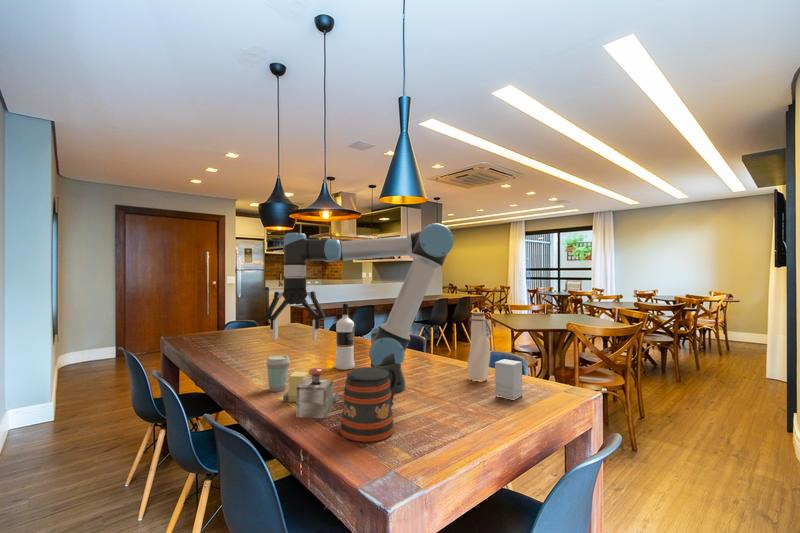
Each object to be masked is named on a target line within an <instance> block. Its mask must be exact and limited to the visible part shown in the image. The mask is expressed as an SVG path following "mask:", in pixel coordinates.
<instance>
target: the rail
mask: <svg viewBox="0 0 800 533" xmlns="http://www.w3.org/2000/svg"><path fill="white" fill-rule="evenodd" d="M339 399H340V392H336V393H333V404H337V403H338V401H339ZM282 402H283V403H286V402H290V401H289V390H288V391H287V392H285V394H284V395H283V396H282Z"/></svg>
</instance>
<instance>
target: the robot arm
mask: <svg viewBox="0 0 800 533" xmlns="http://www.w3.org/2000/svg"><path fill="white" fill-rule="evenodd" d="M453 245H454V235H453V233H452V231H451V229H450V228H449V227H448V226H447V225H445V224H442V223H437V222H435V223H430V224H428V225H426V226H424V227H423V228H422V230H420V231H417V232H410V233H409V232H408V234H406V235H404V236H391V237H381V238H380V237H378V238H366V239H353V240H342V241H341V240H339V239H338V238H337V239H336V238H322V239H321V238H317V239H316V238H315V239H314V238H313V239H312V238H308V237H307V235H306V234H305V233H300V232H287V233H285V234H284V238H283V277H285V278H284V279H283V291H282V292H281V291H274V293H273V299H272V301H271V303H270V305H269V306H268V309H267V311H266V313H265V315H264V318H265V319H268V320H269V322H270V323H269V325H270V330H272V340H277V339H278V338H279V331H278V330H279V320H278V319H277V317H278V316H279V315H280V314H281V313H282V312H283V310H284V309H285V308H286V307H287V306H288V305H290V306H291V305H302V306H303V307H304V308H305V309H306V311H308V313H309V314H310V315H311V317H312V318H313V319H312V340H316V339H317V330H319V329H320V320H321V319H323V318H325V315H326V314H325V313H324V311H323V308H322V306H321V304H320V303H319V301H318V299H317V296H316V291H314V290H313V291H309V292H307V279H306V277H307V261H318V262H319V261H323V262H326V263H334V262H342V261H343V262H344V261H353V260H357V261H358V260H366V259H367V260H368V259H380V258H381V259H382V258H391V257H404V256H406V257H409V258H410V259H412V263H411V264H410V266H409V270H408V271H407V273H406V276H405V279H404V281H403V283H402V285H401V287H400V290H399V292H398V295H397V297H396V298H395V301H394V303H393V306H392V308H391V310H390V313H389V315H388V317H387V319H386V322H384V323H382V324H380V325H379V326H378V327H373V328H371V334H370V337H371V338H370V347H369V351H368V355H369V356H368V357H369V359H370V367H374V366H375V365H379V364H381V363H382V361H383V359H384V358H385V357H386V356H388V355H390V354H394V356H395V363H399V364H400V368H396V371H397V376H398V381H397V388H396V391H395V394H396V393H399V392H402V391H404V390H406V380H405V376H404V373H403V369H402V363H403V362H404V360H405V353H406V350H407V349H408V348H407V347H408V346H409V343H410V341H411V336H410V330H411V327H412V325H413V323H414V321H415V319H416V316H417V314H418V311H419V309H420V306H421V304H422V302H423V300H424V298H425V295H426V293H427V290H428V289H429V286H430V284H431V283H432V282H431V281H432V279H433V277H434V275H435V272H436V271H437V270H438V269H441V268H442V267H443V264H444V262H445V261H446V258H447V255H448V254H449V253H450V252H451V250H452V249H453V247H454V246H453ZM282 297H283V299H284V300H283V301H282V303H281V304H280V305H279V306H278V308H277V309H276V310H275V308H276V306H277V304H278V302H279V301H280V299H281V298H282ZM307 297H309V298H310V299H311V301H312V304H313V306H314V308H315V309H314V308H313V307H312V306H311V305H310V304H309V302H308V300H307V299H306V298H307ZM274 310H275V312H274ZM315 310H316V311H315ZM388 372H389V376H388V377H389V379H390V384H391V382H392V373H391V372H390V371H388Z"/></svg>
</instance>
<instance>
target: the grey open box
mask: <svg viewBox="0 0 800 533" xmlns="http://www.w3.org/2000/svg"><path fill="white" fill-rule="evenodd" d="M333 394H334V380H333V379H320V385H312V378H311V379H310V378H309V379H305V380H304V381H303V382H302V383H301V384H300V385H299V386H298V387H297V402H296V412H295V413H296V416H295V417H296V418H308V419H309V418H313V419H317V418H318V419H327V417H328V416H329V414H330V413H331V411H332V410H333V408H334V407H333V406H334V405H333V404H334V403H333Z"/></svg>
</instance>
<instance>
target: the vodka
mask: <svg viewBox="0 0 800 533" xmlns="http://www.w3.org/2000/svg"><path fill="white" fill-rule="evenodd" d="M335 326H336V328H335V329H336V330H335V331H336V335H335V336H336V342H335V343H336V346H335V352H336V353H335V360H334V361H335V362H334V368H335V369H336V370H338V371H348V369H350V370H352V369H355V367H356V366H355V364H356V362H355V358H354V357H355V356H354V348H355V346H354V343H355V339H354V336H355V333H354V332H355V323H354V321H353V320H352V319H351V318H349V303H346V302H344V303H342V316H341V318H340V319H338V320H337V322H336V324H335Z"/></svg>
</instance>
